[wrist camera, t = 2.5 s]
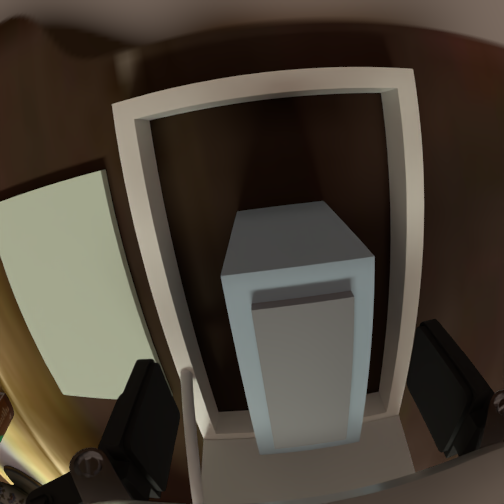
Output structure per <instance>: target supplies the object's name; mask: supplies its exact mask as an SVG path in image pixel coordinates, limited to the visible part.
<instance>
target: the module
mask: <svg viewBox="0 0 504 504" xmlns="http://www.w3.org/2000/svg"><path fill="white" fill-rule="evenodd" d="M374 276H375V256H374V255H373V254H372V253H371V252H370V251H369V249H368V248H367V247H366V246H365V245H364V244H363V243H362V242H361V240H360V239H359V238H358V237H357V236H356V235H355V234H354V233H353V232H352V231H351V230H350V228H349V227H348V226H347V225H346V224H345V223H344V222H343V221H342V220H341V219H340V218H339V217H338V216H337V215H336V213H335V212H334V211H333V210H332V209H331V208H330V207H329V206H328V205H327V204H326V203H325V202H324V201H317V202H308V203H300V204H291V205H283V206H275V207H267V208H259V209H251V210H244V211H237V214H236V218H235V221H234V225H233V229H232V233H231V237H230V241H229V245H228V249H227V253H226V256H225V260H224V264H223V268H222V272H221V281H222V286H223V291H224V296H225V301H226V306H227V311H228V316H229V321H230V325H231V330H232V335H233V340H234V344H235V349H236V354H237V358H238V363H239V368H240V372H241V377H242V381H243V386H244V390H245V395H246V399H247V403H248V408H249V412H250V416H251V421H252V425H253V429H254V433H255V437H256V441H257V446H258V450H259V454H260V455H267V454H279V453H289V452H298V451H306V450H313V449H320V448H327V447H333V446H339V445H344V444H349V443H355V442H359V440H360V434H361V428H362V421H363V415H364V407H365V400H366V392H367V383H368V374H369V364H370V353H371V341H372V326H373V307H374Z"/></svg>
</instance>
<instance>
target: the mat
mask: <svg viewBox="0 0 504 504" xmlns="http://www.w3.org/2000/svg"><path fill="white" fill-rule="evenodd" d="M0 256H1V259H2V262H3V265H4V268H5V271H6V274H7V277H8V279H9V282H10V285H11V287H12V290H13V293H14V295H15V298H16V300H17V303H18V305H19V308H20V310H21V312H22V315H23V317H24V319H25V322H26V324H27V326H28V328H29V330H30V333H31V335H32V337H33V339H34V341H35V343H36V345H37V347H38V349H39V351H40V353H41V355H42V357H43V359H44V361H45V363H46V365H47V366H48V368H49V370H50V372H51V374H52V376H53V377H54V379H55V381H56V383H57V384H58V386H59V388H60V389H61V391H62V393H63V394H64V395H72V396H82V397H93V398H106V399H118V397H119V396H120V395H121V394H122V393H123V391H124V389H125V386H126V384H127V381H128V379H129V377H130V374H131V372H132V370H133V367H134V365H135V363H136V361H137V360H138V359H153V360H154V361H155V363H159V364H160V361H159V358H158V356H157V353H156V350H155V347H154V345H153V342H152V339H151V336H150V333H149V330H148V327H147V325H146V322H145V319H144V316H143V312H142V309H141V306H140V303H139V300H138V297H137V294H136V290H135V287H134V284H133V280H132V277H131V273H130V270H129V266H128V263H127V259H126V256H125V252H124V248H123V244H122V240H121V237H120V233H119V229H118V224H117V220H116V216H115V212H114V207H113V203H112V198H111V194H110V189H109V184H108V179H107V174H106V169H104V170H100V171H97V172H93V173H89V174H85V175H82V176H78V177H75V178H71V179H68V180H64V181H61V182H58V183H55V184H51V185H48V186H45V187H42V188H39V189H36V190H32V191H29V192H26V193H24V194H21V195H18V196H15V197H12V198H9V199H6V200H4V201H1V202H0ZM160 366H161V364H160ZM161 369H162V366H161ZM162 372H163V374H164V371H163V369H162ZM164 377H165V374H164ZM165 379H166V377H165ZM166 381H167V379H166ZM167 384H168V382H167ZM168 386H169V384H168ZM169 389H170V387H169ZM170 391H171V389H170ZM171 394H172V392H171ZM172 396H173V394H172Z"/></svg>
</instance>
